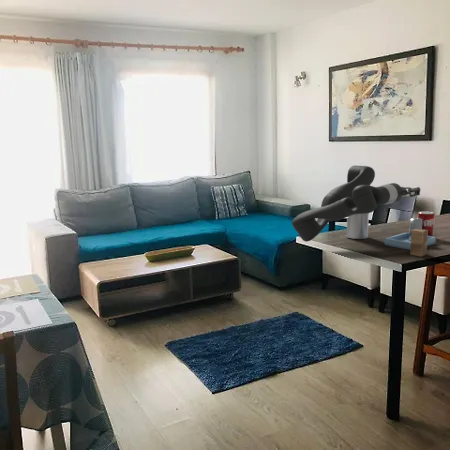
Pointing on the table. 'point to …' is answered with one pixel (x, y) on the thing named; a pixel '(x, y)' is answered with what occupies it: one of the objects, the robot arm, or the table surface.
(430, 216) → the soda can
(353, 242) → the table surface
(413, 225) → the metal cylinder
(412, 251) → the brown rectangular block
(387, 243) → the tote
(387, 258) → the table surface
